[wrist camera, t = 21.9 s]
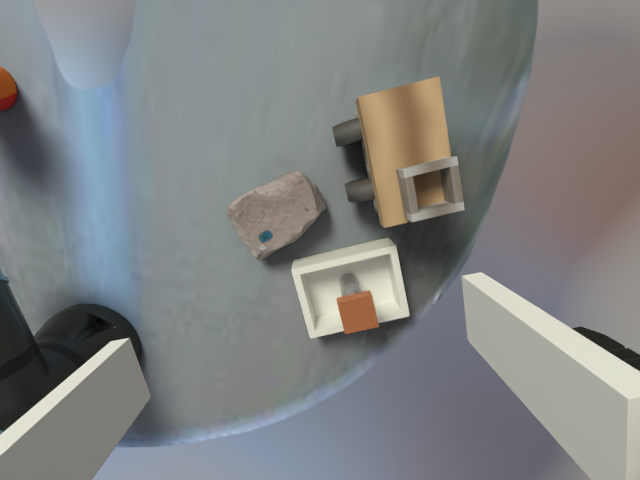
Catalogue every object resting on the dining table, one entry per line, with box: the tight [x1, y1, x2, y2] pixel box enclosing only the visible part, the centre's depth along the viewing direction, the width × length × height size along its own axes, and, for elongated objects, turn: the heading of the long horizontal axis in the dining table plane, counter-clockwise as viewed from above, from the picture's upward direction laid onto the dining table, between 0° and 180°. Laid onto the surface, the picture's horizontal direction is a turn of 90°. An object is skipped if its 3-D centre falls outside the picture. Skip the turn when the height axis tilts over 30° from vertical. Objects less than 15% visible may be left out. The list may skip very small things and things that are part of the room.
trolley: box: [333, 76, 465, 228], centre depth 40 cm, size 12×15×13 cm
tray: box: [291, 238, 410, 339], centre depth 48 cm, size 15×11×5 cm
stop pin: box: [336, 273, 379, 334], centre depth 45 cm, size 4×4×11 cm
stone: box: [227, 171, 326, 259], centre depth 45 cm, size 13×10×6 cm
